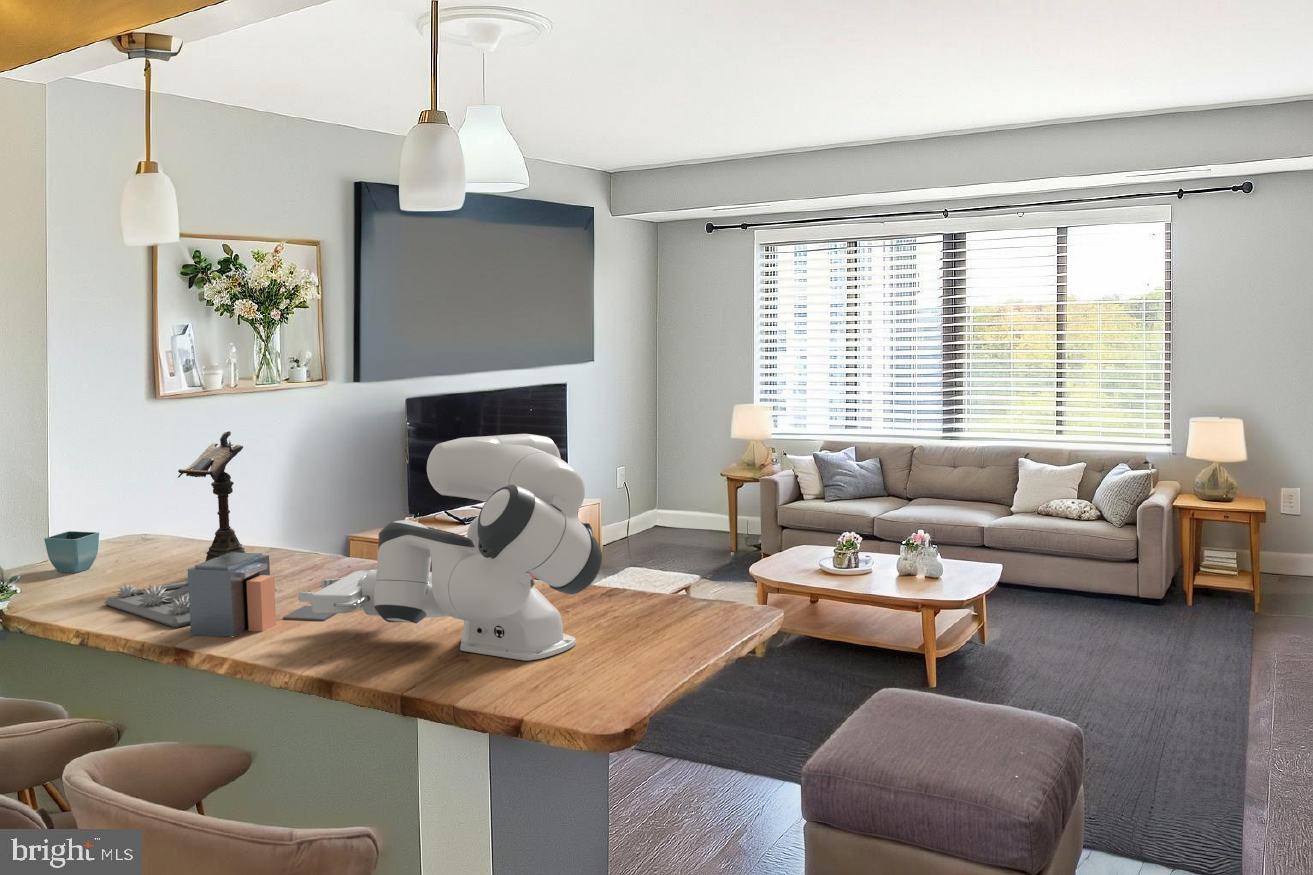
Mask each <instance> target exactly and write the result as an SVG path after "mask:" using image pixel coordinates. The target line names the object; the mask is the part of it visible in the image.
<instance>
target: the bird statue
mask: <svg viewBox="0 0 1313 875" xmlns="http://www.w3.org/2000/svg"><path fill="white" fill-rule="evenodd" d="M231 435H232V432H231V431H226V432H225V431H224V432H223V433H222V434H221V436H220V438H219V441H220V443H216V442H214V443H213V442H212V443H210V445H208V447H207V448H206V449H205V450H204V451H203V452H202V453H201V454H200V455H199V457H198V458H196V460H195V461H193V462H192V463H191V464H190V465H189V466H187V468H185V469H184V468H183V469H178V470H177V472H178V473H179V475H177V478H180V477H181V476H183V474H185V475H186V477H193V478H206V477H207V476H208V475H210V478H212V480H213V481H212V482H211V483H210V486H211V487H212V488H213V489H212V493H213V494H214V495H216V497H217V502H218V503H217V504H218V505H217V506H218V511H217V512H216V514H217V515H218V521H219V522H218V523H219V524H218V526H219V528H218V529H217V530H216V531H215V532H214V538H213V540H212V543H211V545H210V546H209V548H208V550H207V552H206V558H205V560H204V562H206V561H208V560H211V559H214V558H216V557H219V556H222V555H224V554H227V553H230V552H238V553H246V551H245V548H244V547H242V546H243V544H242V543H241V542H240V541H239V538H238V537H237V534H236V532H235V531H236V530H234V528H231V527H232V526H230V518H229V517H230V513H231V510H230V509H229V496H230V494H232V493H233V485H234V481H233V480H231V478H232V477H231V475H230V474H229V473H228V472H226V471H225V470H226V467H227V465H228V464H229V462H230V461H231V460H233V458H235V457H236V456H237V455H238V454H239V453H240V452H241V451H242V450H243V448H244V445H242V444H236V445H235V444H234V443H232V442H231V440H228V438H229V437H230V436H231ZM219 444H220V445H219ZM218 445H219V446H218Z"/></svg>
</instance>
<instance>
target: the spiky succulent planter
mask: <svg viewBox="0 0 1313 875" xmlns="http://www.w3.org/2000/svg"><path fill="white" fill-rule="evenodd" d="M184 579H186V580H185V581H180V582H176V583H175V582H174V583H170V584H165V585H162V584H161V583H159V584H158V586H156V585H155V584H154V583H152V585H151V584H149V588H146V587H145V586H143V588H144V589H143V588H142V589H139V590H138V587H136V586H135V585H133V583H130V585H129V584H124V585H123V586H122V585H120V587H119V586H117V588H118V589H119V590H116V592H118V593H115V595H112V596H108V598H107V599H105V601H104V604H105V605H106V606H108V607H111V608H113V609H117V610H121V611H123V612H126V613H129V614H133V615H136V616H139V617H142V618H144V619H147V620H151V621H154V622H155V623H156V622H157V623H159V624H163V625H166V626H170V627H172V628H175V629H177V628H180V627H186V626H189V625H190V626H191V624H190V606H189V588H188V577H187V578H186V577H185V578H184Z"/></svg>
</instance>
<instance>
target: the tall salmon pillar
mask: <svg viewBox="0 0 1313 875" xmlns="http://www.w3.org/2000/svg"><path fill="white" fill-rule="evenodd" d="M246 584H247V604H248V625H249V630H248V632H262V631H263V632H265V631H266V630H268V629H270V628H272V627H274V626H276V625H277V614H276V613H277V612H276V593H275V592H276V590H275V588H276V586H275V576H274V575H271V574H270V575H259V576H257V577H255V578H252V579H250V580H248V581H246Z"/></svg>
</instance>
